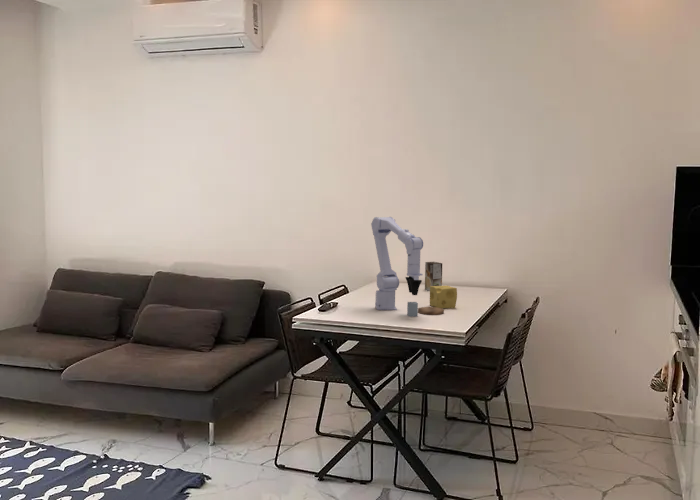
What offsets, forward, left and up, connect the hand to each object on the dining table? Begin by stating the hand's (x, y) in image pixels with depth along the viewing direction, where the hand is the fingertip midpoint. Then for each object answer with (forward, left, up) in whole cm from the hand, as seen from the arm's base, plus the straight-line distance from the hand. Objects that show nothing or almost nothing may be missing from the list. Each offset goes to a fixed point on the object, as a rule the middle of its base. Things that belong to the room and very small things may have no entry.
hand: (413, 293), depth 305 cm
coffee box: (+25, +72, -10) cm, 77 cm away
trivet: (+10, +7, -10) cm, 16 cm away
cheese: (+19, +22, -10) cm, 31 cm away
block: (0, 0, -10) cm, 10 cm away
